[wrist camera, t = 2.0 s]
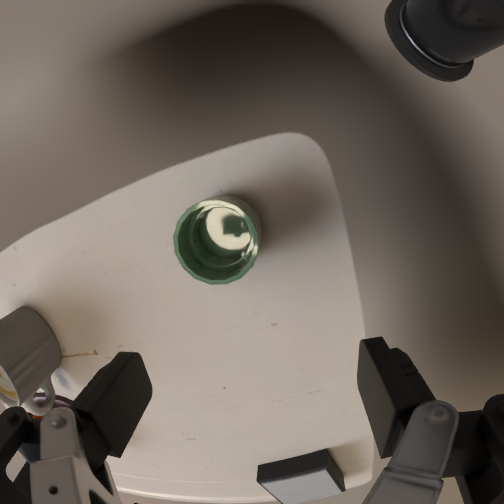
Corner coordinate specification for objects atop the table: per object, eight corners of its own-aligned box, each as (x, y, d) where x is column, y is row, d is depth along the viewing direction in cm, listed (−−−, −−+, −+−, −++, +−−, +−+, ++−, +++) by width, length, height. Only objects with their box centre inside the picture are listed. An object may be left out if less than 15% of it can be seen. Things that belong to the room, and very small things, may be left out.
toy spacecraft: (18, 388, 34) (-1, 407, 28) (87, 397, 32) (65, 425, 25) (52, 436, 37) (38, 456, 31) (127, 452, 34) (113, 480, 28)
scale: (326, 448, 31) (328, 467, 27) (343, 476, 33) (346, 492, 29) (257, 465, 32) (256, 483, 29) (283, 491, 34) (283, 507, 31)
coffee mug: (5, 308, 30) (-39, 336, 20) (42, 304, 28) (-10, 340, 19) (41, 384, 33) (8, 420, 23) (82, 391, 32) (47, 436, 22)
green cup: (242, 183, 23) (234, 184, 19) (273, 247, 25) (272, 264, 20) (181, 214, 24) (159, 223, 20) (211, 274, 26) (198, 296, 21)
